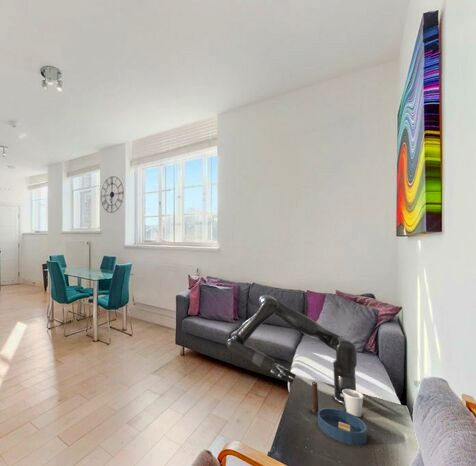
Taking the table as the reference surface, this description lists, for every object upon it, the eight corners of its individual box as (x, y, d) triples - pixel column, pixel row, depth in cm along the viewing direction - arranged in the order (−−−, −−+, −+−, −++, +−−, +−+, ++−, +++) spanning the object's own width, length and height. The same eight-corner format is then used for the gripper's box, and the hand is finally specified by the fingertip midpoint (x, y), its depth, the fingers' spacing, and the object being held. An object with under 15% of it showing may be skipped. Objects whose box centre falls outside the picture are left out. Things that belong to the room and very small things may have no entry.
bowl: (329, 415, 137) (328, 403, 137) (374, 436, 122) (373, 423, 122) (310, 427, 128) (310, 415, 128) (356, 452, 113) (355, 438, 113)
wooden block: (339, 430, 125) (338, 421, 125) (350, 434, 122) (350, 425, 123) (338, 435, 122) (338, 426, 122) (350, 439, 119) (350, 430, 119)
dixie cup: (339, 411, 139) (338, 391, 139) (347, 406, 143) (347, 387, 143) (360, 421, 132) (358, 399, 132) (368, 415, 136) (367, 394, 136)
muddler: (313, 410, 141) (312, 380, 142) (321, 413, 138) (320, 383, 138) (310, 412, 139) (308, 382, 140) (318, 416, 136) (316, 385, 137)
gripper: (262, 357, 149) (295, 377, 139) (267, 351, 160) (298, 369, 150) (256, 370, 149) (289, 390, 140) (262, 363, 161) (293, 381, 151)
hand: (294, 379), depth 145 cm, fingers open, 8 cm apart
